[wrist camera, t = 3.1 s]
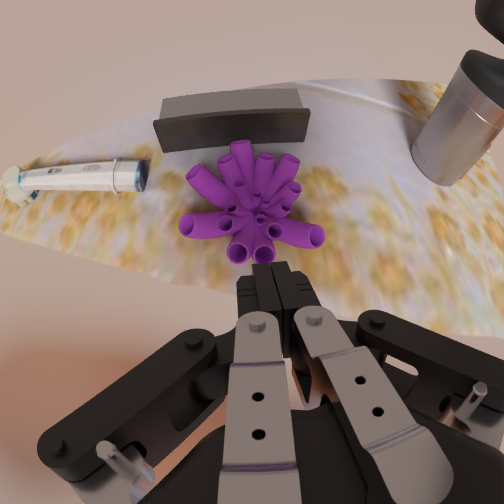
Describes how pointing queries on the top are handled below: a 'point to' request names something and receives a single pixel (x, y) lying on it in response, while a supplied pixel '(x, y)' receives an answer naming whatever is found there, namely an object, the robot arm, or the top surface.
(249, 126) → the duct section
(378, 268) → the top surface
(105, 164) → the white handheld device
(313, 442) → the robot arm
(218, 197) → the purple tube coral
